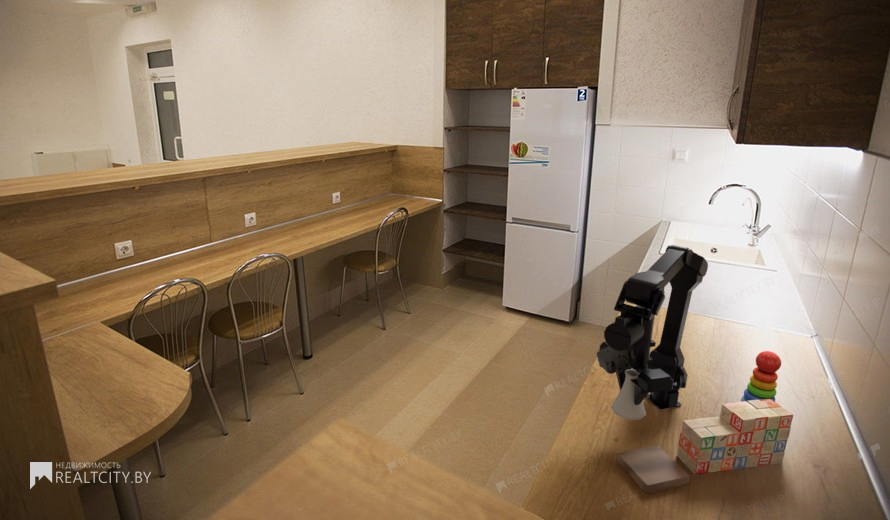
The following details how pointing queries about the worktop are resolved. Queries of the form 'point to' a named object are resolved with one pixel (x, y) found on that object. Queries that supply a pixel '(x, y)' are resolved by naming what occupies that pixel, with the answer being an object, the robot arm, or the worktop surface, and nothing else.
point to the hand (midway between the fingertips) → (629, 398)
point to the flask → (628, 400)
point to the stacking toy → (763, 378)
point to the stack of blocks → (736, 437)
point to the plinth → (652, 469)
